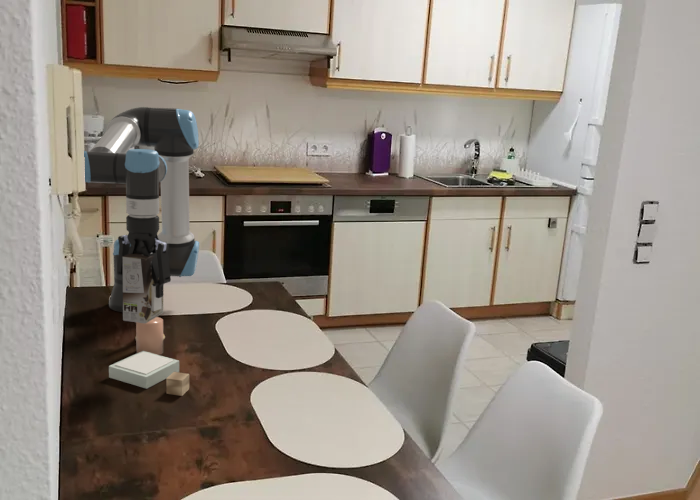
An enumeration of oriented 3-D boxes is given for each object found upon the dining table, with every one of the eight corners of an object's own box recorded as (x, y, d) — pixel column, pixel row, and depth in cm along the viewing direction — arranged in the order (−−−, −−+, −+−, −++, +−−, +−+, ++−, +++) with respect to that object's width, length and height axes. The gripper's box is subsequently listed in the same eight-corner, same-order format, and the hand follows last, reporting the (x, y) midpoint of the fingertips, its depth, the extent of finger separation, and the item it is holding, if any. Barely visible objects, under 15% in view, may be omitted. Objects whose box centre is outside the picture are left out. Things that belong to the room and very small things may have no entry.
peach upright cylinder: (130, 353, 181) (130, 321, 179) (148, 345, 187) (148, 314, 185) (151, 358, 178) (150, 327, 176) (168, 350, 184) (168, 319, 182)
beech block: (166, 393, 159) (166, 378, 158) (173, 386, 163) (173, 371, 162) (182, 396, 158) (182, 380, 157) (189, 389, 162) (189, 373, 161)
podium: (109, 377, 166) (108, 365, 165) (143, 361, 176) (142, 349, 175) (146, 388, 161) (146, 376, 160) (179, 371, 171) (179, 359, 171)
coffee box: (146, 324, 160) (146, 258, 156) (122, 320, 161) (120, 256, 157) (164, 312, 168) (164, 250, 165) (141, 309, 170) (140, 248, 166)
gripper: (99, 211, 160) (101, 303, 165) (165, 222, 152) (166, 318, 157) (122, 207, 166) (123, 295, 172) (187, 218, 158) (186, 310, 163)
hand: (143, 306), depth 164 cm, fingers closed on coffee box, 7 cm apart
